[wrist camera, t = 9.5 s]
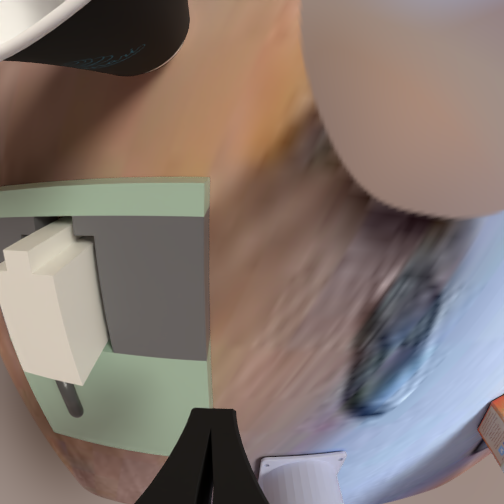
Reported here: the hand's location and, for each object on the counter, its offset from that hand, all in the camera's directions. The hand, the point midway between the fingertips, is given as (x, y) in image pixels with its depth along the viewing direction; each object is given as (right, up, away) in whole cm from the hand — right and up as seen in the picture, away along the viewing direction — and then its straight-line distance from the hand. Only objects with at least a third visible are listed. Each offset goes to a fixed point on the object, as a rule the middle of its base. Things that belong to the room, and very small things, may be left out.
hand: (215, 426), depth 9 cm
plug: (-9, +3, +9) cm, 13 cm away
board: (-8, 0, +9) cm, 13 cm away
